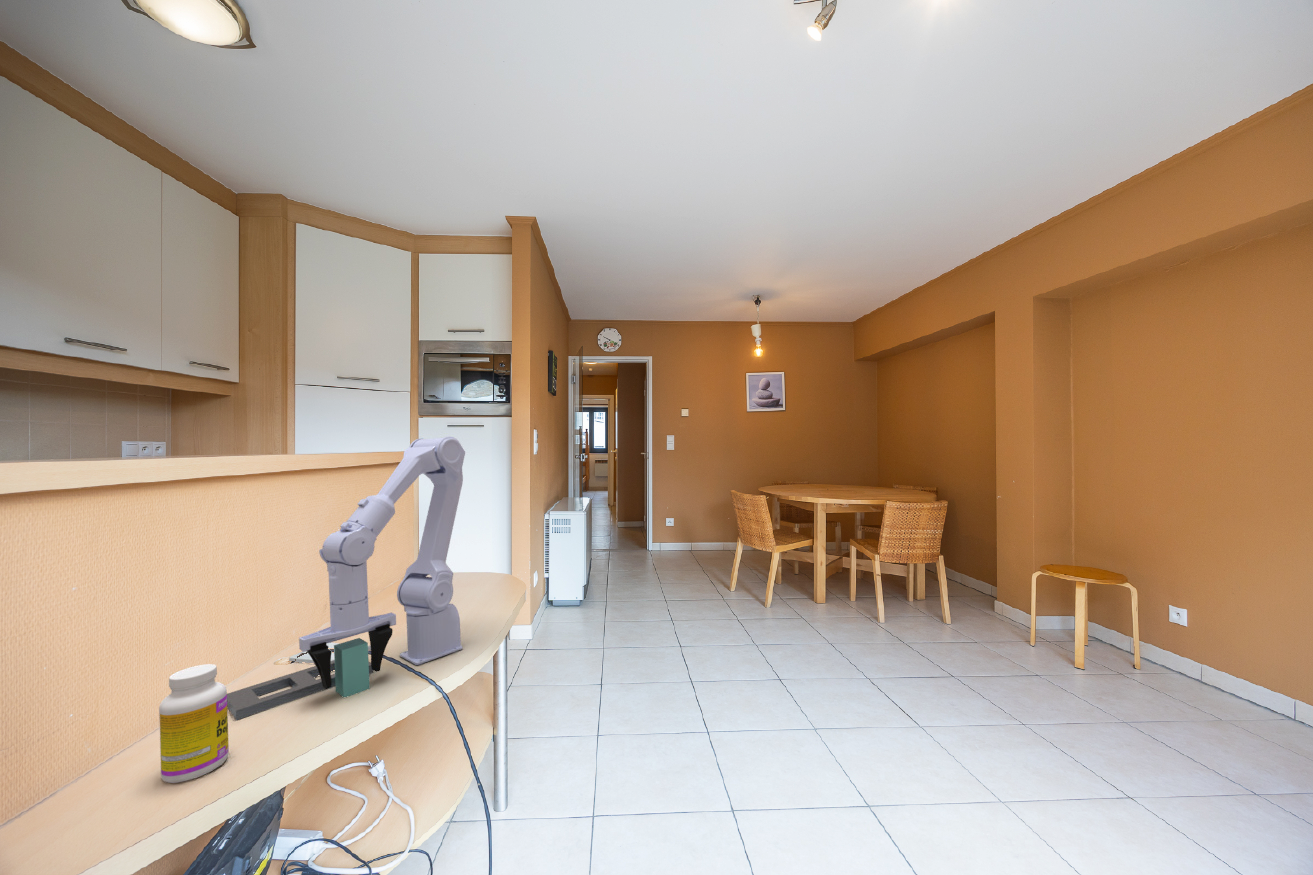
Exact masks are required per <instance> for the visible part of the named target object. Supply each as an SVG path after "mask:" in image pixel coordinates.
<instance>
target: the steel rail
mask: <svg viewBox="0 0 1313 875" xmlns="http://www.w3.org/2000/svg"><path fill="white" fill-rule="evenodd" d="M333 670H335V661H334V660H333V661H331V664H330V672H331V671H333ZM374 672H375V671H374V670H372V667H371V661H369V675H371V674H372V673H374ZM318 675H320V674H319V671H318V669H317V667H316V665H313V666H311V667H308V668H304V669H302V670H301V669H300V670H299V671H295V672H292V673H289V674H286V675H285V674H284V675H282V676H279V677H278V676H277V677H275V678H272V679H269V680H266V681H263V682H260V683H257V684H254V685H251V686H247V687H244V688H242V689H241V688H240V689H238V690H234V691H230V692H227V710H229V712H230V713H231V715H232V716H233V718H234V720H235V721H239V720H241V719H245V718H247V717H251V716H252V715H255V714H258V713H262V712H265V711H267V710H271V709H273V708H275V707H278V706H281V705H285V704H287V703H289V702H293V701H295V700H298V699H301V698H305V697H308V696H310V695H313V694H316V693H319V692H321V690H322V691H324V690H323V689H325V688H324V687H323V685H322V681H321V677H320V678H318V679H316V678H317V677H316V676H318ZM314 677H315V678H314ZM318 677H319V676H318ZM287 687H290V688H287ZM333 687H336V686H335V673H333V674H332V672H331V688H333ZM284 688H287V689H284ZM278 689H279V690H281V689H284V690H282V691H279V690H278ZM325 690H326V689H325ZM276 691H278V692H276ZM273 692H275V693H273ZM271 693H272V694H271ZM267 694H269V695H267ZM264 695H267V696H264ZM261 696H263V697H261ZM259 697H261V698H259Z"/></svg>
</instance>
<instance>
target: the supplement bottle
mask: <svg viewBox="0 0 1313 875" xmlns="http://www.w3.org/2000/svg"><path fill="white" fill-rule="evenodd" d="M217 669H218V668H217V665H216V664H214V663H213V664H212V663H206V664H205V663H204V664H199V665H194V666H190V667H186V668H184V669H180V670H179V671H176V672H174V673H173V674H171V675H170V676H169V677H168V687H169V689H170V690H171V692H170V694H168V695H167V696H165V697H164V698H163V699H162V701H161V702H160V705H159V707H158V712H159V714H158V715H159V745H160V746H159V748H160V749H159V750H160V751H159V752H160V754H159V755H160V777H161V780H162V781H164V782H165V783H169V784H170V783H171V784H173V783H174V784H175V783H176V784H177V783H182V782H187V781H191V780H194V779H196V778H197V779H198V778H199V777H201V776H204V775H207V774H209V773H210V772H212V771H214V770H215V769H217V768H219V767H220V766H221V765H223V764H224V763H225V761H226V760H227V758H228V756H229V754H230V752H229V746H230V745H229V717H228V707H227V694H228V692H227V687H226V685H225V684H223V683H221V682H219V681H215V680H216V678H217V675H218V671H217Z"/></svg>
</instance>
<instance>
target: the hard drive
mask: <svg viewBox="0 0 1313 875" xmlns="http://www.w3.org/2000/svg"><path fill="white" fill-rule="evenodd" d="M340 643H341V642H340ZM340 643H339V642H338V643H337V642H331V643H327V644H326V645H327V646H328V648H334V645H337V644H340ZM368 650H370V651H371V646H370V645H368ZM306 652H307V651H304V652H303V651H300V652H298V653H296V654H292V655H291V656H290V657H289V659H288V662H289V661H295V659H296V661H295V662H299V663H298V664H303V663H302V662H305V663H314V661H313V660H312V658H311V657H310V655H309V654H308V653H307V654H304V655H302V656H300V657H298V658H297V656H299V655H300V654H301V653H306ZM333 660H334V653H331V661H333Z"/></svg>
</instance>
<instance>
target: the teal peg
mask: <svg viewBox="0 0 1313 875" xmlns="http://www.w3.org/2000/svg"><path fill="white" fill-rule="evenodd" d="M368 646H369V642H367V641H366V640H364V639H362V638H360V637H358V638H353V639H351V640H346V641H344V642H340V644H337V645H334V661H335V671H334V674H335V686H334V687H335V693H337V694H338V693H339V694H340V695H341V697H342V696H343V697H346V698H348V697H347V696H349V697H351V696H354V695H356V693H357V694H359V693H361V692H365V691H367V689H368V690H370V688H371V687H370V674H369V662H370V661H369V651H368ZM339 694H338V695H339ZM340 695H339V696H340ZM343 697H342V698H343Z"/></svg>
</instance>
